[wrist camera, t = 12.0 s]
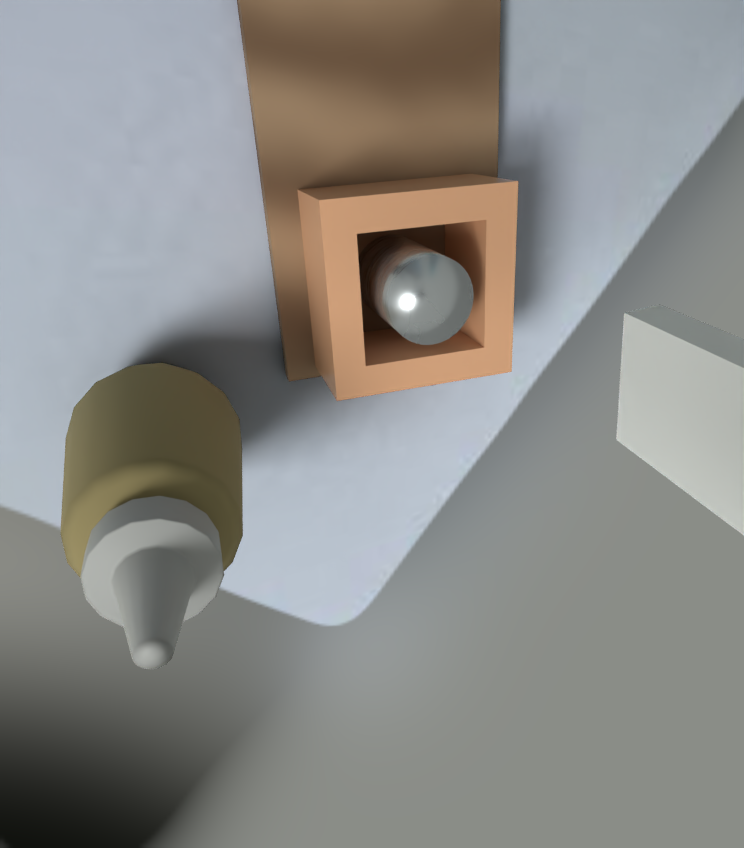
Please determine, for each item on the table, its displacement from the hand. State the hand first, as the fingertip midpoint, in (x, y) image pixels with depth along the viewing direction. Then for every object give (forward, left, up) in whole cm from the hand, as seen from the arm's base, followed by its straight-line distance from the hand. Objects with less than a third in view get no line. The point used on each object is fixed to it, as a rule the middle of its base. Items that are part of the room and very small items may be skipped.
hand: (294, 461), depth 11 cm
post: (+2, +9, -24) cm, 25 cm away
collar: (+2, +9, -23) cm, 24 cm away
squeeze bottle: (+8, -4, -24) cm, 26 cm away
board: (-2, +9, -24) cm, 25 cm away
